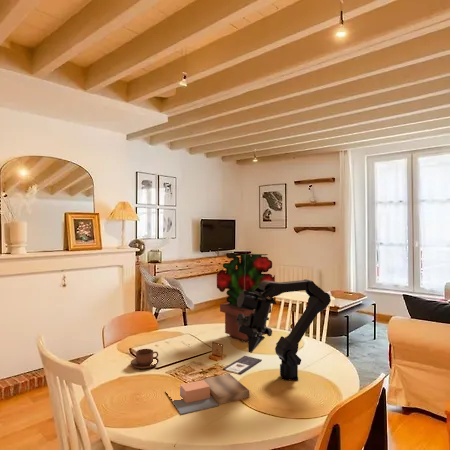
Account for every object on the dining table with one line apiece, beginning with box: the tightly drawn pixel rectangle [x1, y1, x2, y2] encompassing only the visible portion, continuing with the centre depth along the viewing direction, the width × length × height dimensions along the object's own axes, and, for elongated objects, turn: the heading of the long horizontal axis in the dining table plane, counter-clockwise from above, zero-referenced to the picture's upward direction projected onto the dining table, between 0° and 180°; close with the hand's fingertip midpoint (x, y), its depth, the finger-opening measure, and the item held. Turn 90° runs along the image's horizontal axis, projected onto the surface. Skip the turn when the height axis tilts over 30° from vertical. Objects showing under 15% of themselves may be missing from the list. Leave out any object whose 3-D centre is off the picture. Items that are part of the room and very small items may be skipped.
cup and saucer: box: [130, 348, 159, 370], centre depth 164 cm, size 12×12×6 cm
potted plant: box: [216, 253, 276, 343], centre depth 202 cm, size 22×22×45 cm
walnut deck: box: [200, 373, 250, 405], centre depth 139 cm, size 12×16×2 cm
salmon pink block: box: [179, 380, 210, 403], centre depth 134 cm, size 4×6×9 cm
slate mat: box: [171, 396, 220, 415], centre depth 133 cm, size 14×18×1 cm
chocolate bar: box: [222, 355, 263, 375], centre depth 164 cm, size 9×1×18 cm
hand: (250, 352), depth 145 cm, fingers closed
